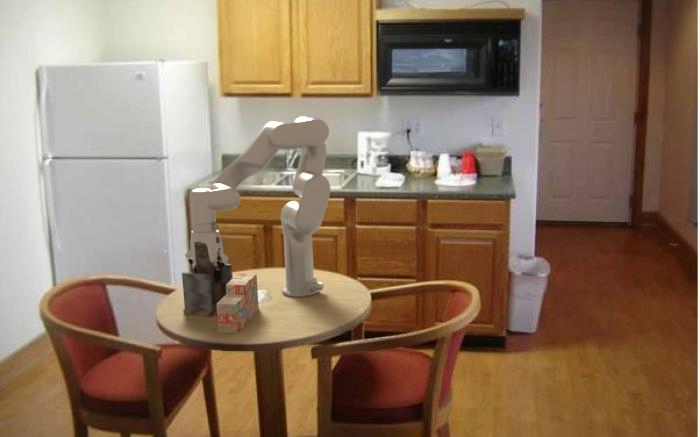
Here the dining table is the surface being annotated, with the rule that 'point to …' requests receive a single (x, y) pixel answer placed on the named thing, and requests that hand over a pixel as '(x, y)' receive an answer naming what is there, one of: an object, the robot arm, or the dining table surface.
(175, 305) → the dining table surface
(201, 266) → the dark upright piece
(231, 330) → the stack of blocks
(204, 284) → the shelf
